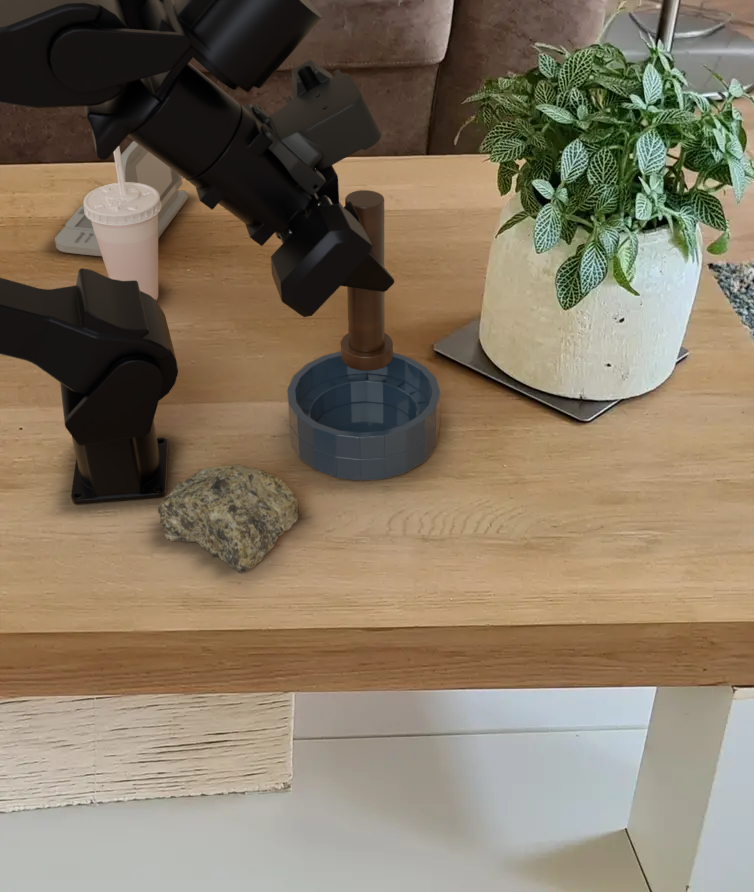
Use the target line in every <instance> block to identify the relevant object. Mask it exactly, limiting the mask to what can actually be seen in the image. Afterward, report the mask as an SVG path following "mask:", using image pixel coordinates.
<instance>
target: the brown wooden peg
mask: <svg viewBox="0 0 754 892" xmlns="http://www.w3.org/2000/svg"><path fill="white" fill-rule="evenodd" d="M349 201H351V202H352V204H353V206H354V208H355V210H356V212H357V214H358V216H359V218H360V222H361V225H362V226H363V228H364V230H365V232H366V234H367V236H368V238H369V240H370V242H371V244H372V249H371V252H372V254H373V255H374V256H375V257H376V258H377V259H378V261H379V262H380V263H381V264H382V265H383V266H384V267H385V197H384V195H383V194H382V193H379V192H377V191H374V190H368V189H367V190H366V189H361V190H354V191H352V192H349V193H348V194H347V195H346V196H345V198H344V204H345V205H344V207H345V206H346V204H347V203H348V202H349ZM346 289H347V325H348V326H347V327H348V328H347V329H348V331H347V333H346V334H345V335H343V336H342V338H341V340H340V351H341V359H342V361H343V362H344V364H346V365H347V366H349V367H351V368H353V369H356V370H362V371H371V370H377V369H380V368H383V367H385V366H387V365H388V364H389V363H390V362H391V360H392V358H393V352H394V342H393V341H394V340H393V339H392V338H391V336H390V335H389V334H387V333H386V332H385V331H386V328H385V327H386V324H385V323H386V321H385V320H386V319H385V316H386V314H385V310H386V309H385V306H386V305H385V303H386V302H385V298H386V297H385V295H386V294H385V292H386V291H385V292H380V291H373V290H366V289H359V288H352V287H347V288H346Z"/></svg>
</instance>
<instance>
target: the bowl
mask: <svg viewBox="0 0 754 892" xmlns="http://www.w3.org/2000/svg"><path fill="white" fill-rule="evenodd" d="M286 392H287V393H286V394H287V405H288V408H287V409H288V421H289V422H288V423H289V434H290V436H289V437H290V444H291V447H292V449H293V450H294V452H295V453H296V455H297V456H298V458H299V459H300V460H301V461H302V462H304V463H305V464H306V465H307V466H309V467H311V468H312V469H313V470H315V471H317V472H320V473H322V474H325V475H327V476H331V477H333V478H337V479H343V480H349V481H359V482H360V481H361V482H362V481H363V482H364V481H365V482H366V481H377V480H386V479H390V478H393V477H395V476H399V475H403V474H406V473H409V472H410V471H411V470H413V469H415V468H416V467H418V466H420V465H422V464H423V463H425V462H426V460H427V459H428V458H430V455H431V454H432V453H433V452H434V451H435V450H436V448H437V445H438V440H439V436H440V413H441V412H440V411H441V390H440V387H439V382H438V379H437V378H436V376H435V375H434V374H433V373H432V372H431V371H430V369H429V368H428V367H427V366H425V365H424V364H422V363H421V362H418V360H416V359H414V358H412V357H410V356H408V355H404V354H400V353H397V352H395V351H393V358H392V360H391V362H390V363H389V364H388V365H387V366H385V367H383V368H380V369H377V370H371V371H362V370H356V369H353V368H351V367H349V366H347V365H346V364H344V362H343V361H342V359H341V350H339V351H336V352H332V353H327V354H324V355H322V356H320V357H318V358H316V359H314V360H311V361H310V362H307V363H306V364H304V365H303V366H302V367H301V368H300V369H299V370H298V371H297V372H296V373H294V375H293V376H292V378H291V380H290V382H289V385H288V387H287V390H286Z"/></svg>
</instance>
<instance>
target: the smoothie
mask: <svg viewBox="0 0 754 892" xmlns="http://www.w3.org/2000/svg"><path fill="white" fill-rule="evenodd" d="M112 154H113V158H114V165H115V170H116V171H115V172H116V177H117V182H114V183H109V184H105V185H101V186H98V187H96V188H94V189H93V190H91V191H89V192H88V193H87V194H86V195H85V197H84V198H83V200H82V201H83V202H82V204H84V208H85V209H84V212H85V215H86V217H87V218H88V219H90V220H91V223H92V226H93V229H94V233H95V235H96V238H97V242H98V245H99V248H100V251H101V254H102V256H101V257H102V259H103V263H104V266H105V267H104V268H105V269H106V273H107V276H108V278H111V279H114V280H120V281H134V280H135V281H137V282H138V285H139V289H140V291H142V292H144V293H146V294H148V295H150V296H151V297H153V298H154V299H155V300H156V301H158V299H159V238H158V213H159V211H160V210H161V207H162V205H161V201H160V195H159V193H158V191H157V190H155V189H154V188H152V187H151V186H148V185H145V184H141V183H134V182H125V179H124V172H123V166H122V159H121V155H122V153H121V147H120V145H119V146H118V147H117V148H116V150H115V151H114V152H113V153H112Z"/></svg>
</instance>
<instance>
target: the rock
mask: <svg viewBox="0 0 754 892" xmlns="http://www.w3.org/2000/svg"><path fill="white" fill-rule="evenodd" d="M157 513H158V514H159V517H160V521H159V524H162V531H163V533H164V537H165V538H166V540H169V541H171V542H189V543H197V544H198V545H199V546H200V547H201V548H202V549H203V550H204V551H206V552H209V554H210V556H211V557H212V558H217V557H218V559H219V560H220V561H222V562H224V563H225V564H226V565H228V566H229V567H230V568H231V569H233V570H234V571H236V572H237V573H239V574H241V573H245V572H247V571H249V570H251V569H253V568H254V567H255V566H256V565H258V563H259V562H261V561H263V560H264V556H265V555H268V553H270V551H271V550H272V549H273V548H274V547H275V546H276V544H277V540H278V537H281V536H282V535H284V534H285V532H286V531H289V530H290V528H291V527H292V526H293V524H295V523H296V522H297V521H298V518H299V502H298V499H297V496H296V495H295V493H294V492H293V490H292V489H291V488H289V487H288V484H287V483H286V482H285V481H284V480H282V478H280V477H278V476H277V475H274V474H270V473H269V472H266V471H264V470H262V469H260V468H258V467H249V466H247V465H241V464H240V463H239V464H238V463H237V464H226V465H225V464H224V465H220V466H219V465H217V466H212V467H206V468H202V469H200V470H198V471H197V472H195V473H194V474H191V475H189V476H188V477H186V479H185V480H184V481H179V482H178V483H177V484H176V485H175V486H174V488H173V489H172V490H171V492H170V493H169V494H168V495H167V496H165V497H164V500H163V501H161V502H160V503H159V506H158V508H157Z"/></svg>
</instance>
